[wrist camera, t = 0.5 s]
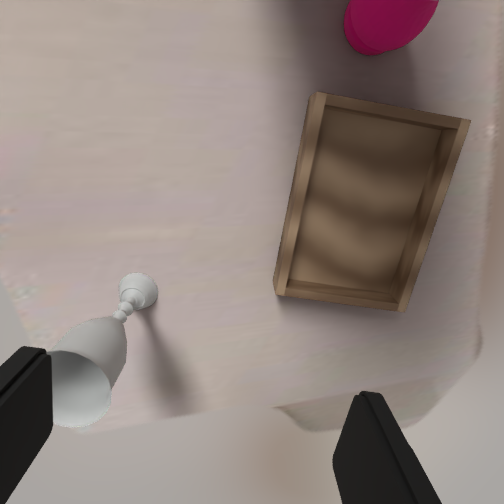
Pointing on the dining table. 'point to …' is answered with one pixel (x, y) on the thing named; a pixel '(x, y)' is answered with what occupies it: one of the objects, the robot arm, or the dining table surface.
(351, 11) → the pepper mill
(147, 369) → the dining table surface
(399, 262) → the serving tray
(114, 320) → the chalice
